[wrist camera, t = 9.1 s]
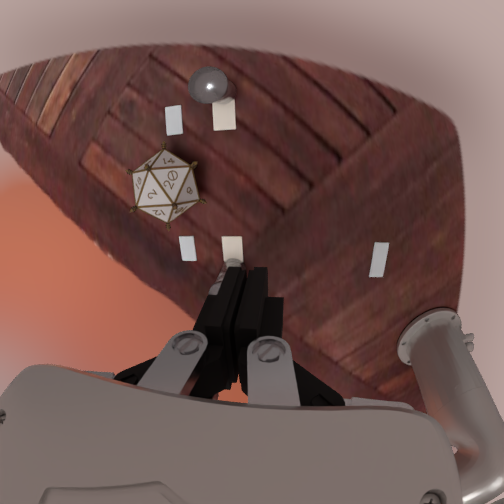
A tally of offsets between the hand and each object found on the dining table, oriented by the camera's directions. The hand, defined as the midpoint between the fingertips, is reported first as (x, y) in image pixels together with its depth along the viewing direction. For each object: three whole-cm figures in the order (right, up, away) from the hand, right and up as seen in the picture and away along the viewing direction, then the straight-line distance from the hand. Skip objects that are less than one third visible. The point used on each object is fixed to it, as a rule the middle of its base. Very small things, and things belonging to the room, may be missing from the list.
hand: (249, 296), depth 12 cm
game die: (-9, +11, +20) cm, 25 cm away
